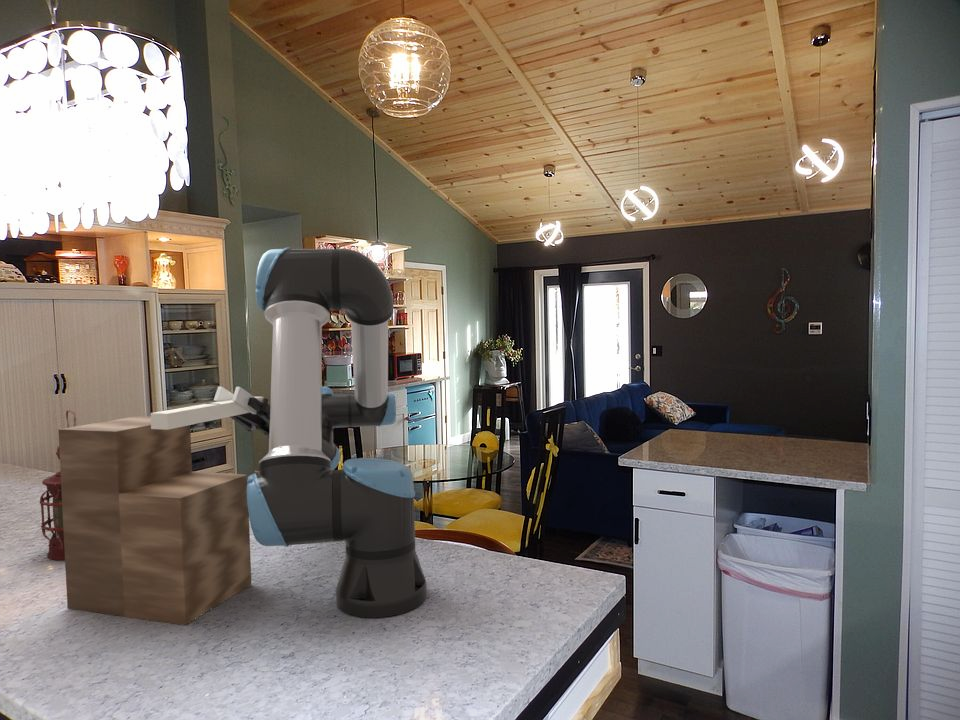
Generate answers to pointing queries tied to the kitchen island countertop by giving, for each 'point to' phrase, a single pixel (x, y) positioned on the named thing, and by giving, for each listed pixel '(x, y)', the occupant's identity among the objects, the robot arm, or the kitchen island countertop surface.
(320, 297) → the robot arm
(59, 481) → the lantern
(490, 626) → the kitchen island countertop surface
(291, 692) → the kitchen island countertop surface
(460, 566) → the kitchen island countertop surface
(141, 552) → the two tier stand
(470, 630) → the kitchen island countertop surface
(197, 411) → the domino bar
